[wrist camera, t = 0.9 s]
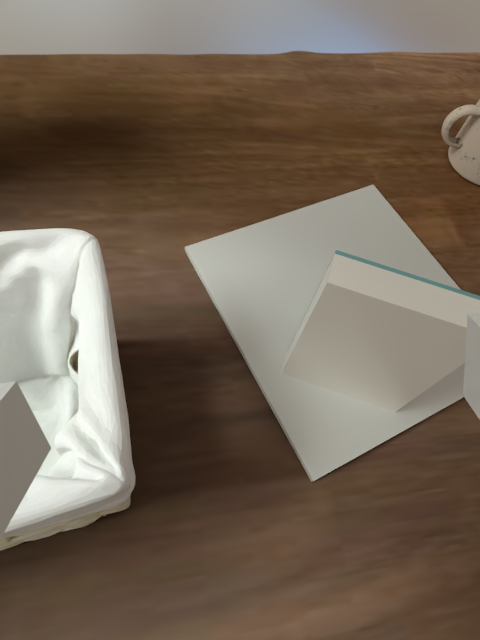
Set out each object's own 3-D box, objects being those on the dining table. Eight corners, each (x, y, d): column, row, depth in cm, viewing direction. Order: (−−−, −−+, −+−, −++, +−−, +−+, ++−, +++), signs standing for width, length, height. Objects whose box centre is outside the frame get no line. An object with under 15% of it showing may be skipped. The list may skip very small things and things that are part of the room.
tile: (395, 412, 37) (498, 338, 25) (281, 373, 37) (327, 282, 25) (399, 385, 38) (499, 302, 26) (288, 348, 39) (335, 249, 26)
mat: (184, 250, 43) (184, 246, 43) (371, 188, 50) (373, 184, 50) (311, 482, 34) (313, 481, 33) (518, 366, 41) (522, 364, 40)
